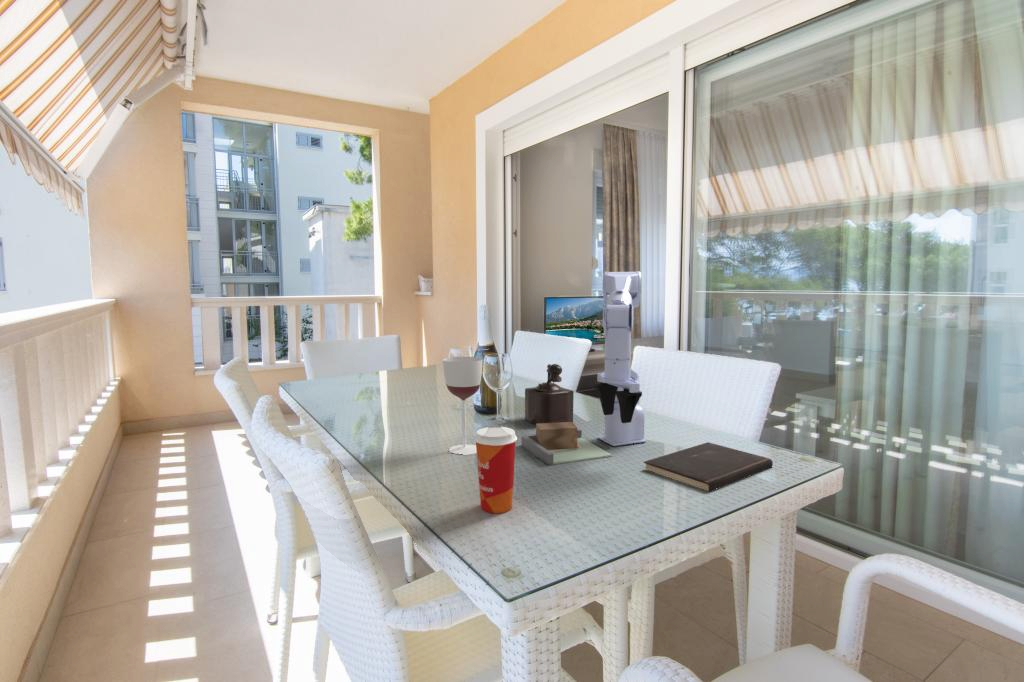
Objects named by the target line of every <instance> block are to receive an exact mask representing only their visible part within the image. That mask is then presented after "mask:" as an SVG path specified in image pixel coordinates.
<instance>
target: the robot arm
mask: <svg viewBox="0 0 1024 682" xmlns="http://www.w3.org/2000/svg"><path fill="white" fill-rule="evenodd" d="M641 294H642V273H641V272H640V271H639V270H637V271H604V272H603V273H602V295H603V302H604V307H603V308H602V309H603V310H602V326H603V327H602V328H603V338H604V371H602V372H598V373H597V378H596V379H597V380H596V381H597V382H598V383H596V384H594V389H595V391H596V393H597V395H598V400H599V402H600V404H601V408H602V412H603V415H604V431H603V432H604V434H603V435H598V436H597V439H599V440H601V441H603V442H605V443H607V444H609V445H611V446H612V447H617V446H625V445H633V443H634V444H640V443H646V442H647V440H646V439H645V413H644V410H643V408H642V407H641V405H639V404H640V399H641V397H642V396H643V392H642V391H641V390H640V387H641V384H640V375H639V373H638V372H637V371H635V370H634V369H632V366H631V365H632V364H631V363H632V361H631V360H632V331H633V329H634V309H636V308H637V307H639V306H640V302H641Z"/></svg>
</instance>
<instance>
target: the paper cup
mask: <svg viewBox="0 0 1024 682" xmlns="http://www.w3.org/2000/svg"><path fill="white" fill-rule="evenodd" d="M473 440H474V442H475V445H476V450H477V453H476V459H477V460H476V461H477V474H478V487H479V498H480V508H481V510H482V511H483V512H484V513H488V514H493V515H494V514H495V515H498V514H504V513H508V512H510V511H511V510H512V508H513V500H514V499H513V498H514V497H513V496H514V483H515V482H514V479H515V460H516V458H515V456H516V442H517V440H518V437H517V435H516V432H515V430H514V429H512V428H510V427H505V426H500V427H498V426H491V427H488V426H487V427H481V428H480V429H478V430H477V431H476V434H475V436H474V438H473Z"/></svg>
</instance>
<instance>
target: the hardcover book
mask: <svg viewBox="0 0 1024 682" xmlns="http://www.w3.org/2000/svg"><path fill="white" fill-rule="evenodd" d="M773 463H774V461H773V459H771V458H769V457H765V456H762V455H757V454H754V453H751V452H746V451H742V450H739V449H734V448H732V447H728V446H723V445H720V444H717V443H712V442H710V441H708V442H704V443H701V444H698V445H695V446H691V447H688V448H685V449H682V450H678V451H674V452H672V453H668V454H665V455H662V456H658V457H655V458H652V459H649V460H645V461H643V464H645V470H646V469H647V470H646V471H648V470H650V471H649V472H651V471H652V472H651V473H653V472H655V473H654V474H656V473H658V474H657V475H659V474H661V475H660V476H662V475H663V476H662V477H665V476H666V477H665V478H668V477H669V478H668V479H671V478H672V480H674V481H677V480H678V481H677V482H680V481H681V482H680V483H683V482H684V483H683V484H685V483H687V484H686V485H688V484H690V485H689V486H691V485H692V487H694V486H695V488H697V487H698V488H697V489H700V488H701V490H703V489H704V490H703V491H706V490H707V491H706V492H708V491H711V492H713V491H715V490H714V489H716V488H718V489H720V488H719V487H721V486H723V487H725V486H724V485H726V484H729V483H731V484H733V483H732V482H734V483H736V482H738V481H737V480H739V479H741V480H743V479H742V478H744V477H746V478H748V477H747V476H749V475H751V476H753V475H752V474H754V473H756V474H758V473H757V472H759V473H761V472H763V471H762V470H764V471H766V470H768V469H767V468H769V467H771V468H773V467H772V466H773ZM765 469H766V470H765ZM769 469H770V468H769ZM760 471H761V472H760ZM754 475H755V474H754ZM749 477H750V476H749ZM744 479H745V478H744ZM735 481H736V482H735ZM739 481H740V480H739ZM729 485H730V484H729ZM726 486H727V485H726ZM721 488H722V487H721ZM712 490H713V491H712ZM716 490H717V489H716Z"/></svg>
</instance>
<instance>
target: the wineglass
mask: <svg viewBox="0 0 1024 682" xmlns="http://www.w3.org/2000/svg"><path fill="white" fill-rule="evenodd" d="M442 362H443V363H442V365H443V373H444V374H443V375H444V380H445V384H446V389H447V390H448V391H449V392H450V394H452V395H453V396H455V397H457V398H459V399H460V400H461V419H462V420H461V421H462V422H461V424H462V425H461V426H462V431H461V432H462V444H459V445H458V444H457V446H456V445H453V446H450V447H451V448H450V447H449V448H450V449H449V450H450V451H451V452H453V453H459V454H463V455H462V456H468V455H470V456H471V455H475V454H477V450H476V444H467V424H466V423H467V421H466V420H467V418H466V416H467V413H466V412H467V411H466V401H467V399H468V398H470V397H472V396H474V395H475V394H476V393H477V392H478V391H479V389H480V387H481V382H482V374H483V358H481V357H478V356H477V357H475V356H452V357H450V356H449V357H446V358H443V359H442Z"/></svg>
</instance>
